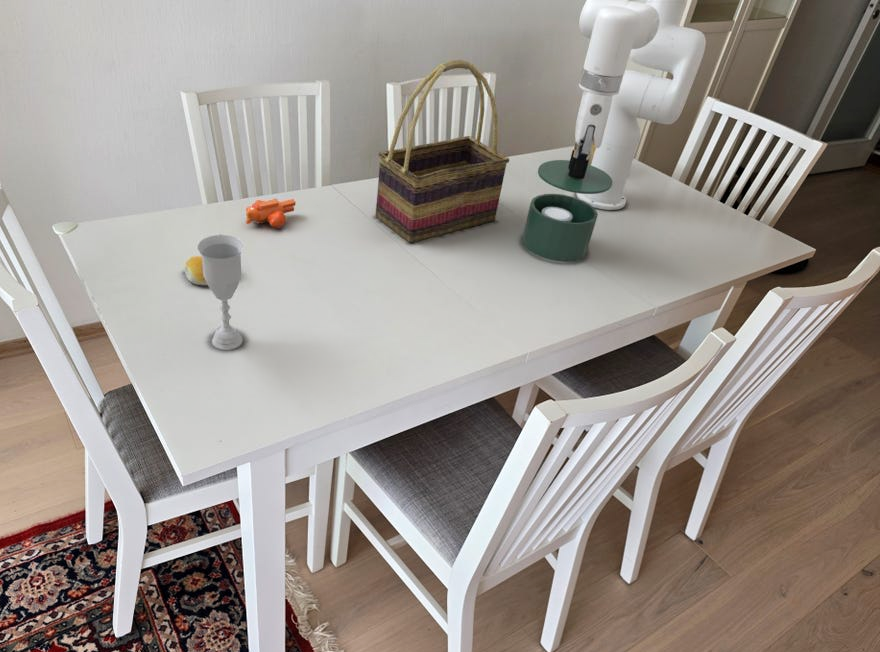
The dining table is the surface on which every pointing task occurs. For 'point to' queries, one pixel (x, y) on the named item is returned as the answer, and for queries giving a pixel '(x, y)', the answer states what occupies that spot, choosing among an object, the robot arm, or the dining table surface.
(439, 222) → the basket
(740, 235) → the dining table surface
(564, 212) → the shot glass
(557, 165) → the lid
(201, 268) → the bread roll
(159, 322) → the dining table surface
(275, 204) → the orange plastic lumpy piece
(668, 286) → the dining table surface
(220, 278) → the chalice
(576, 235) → the tin
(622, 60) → the robot arm
